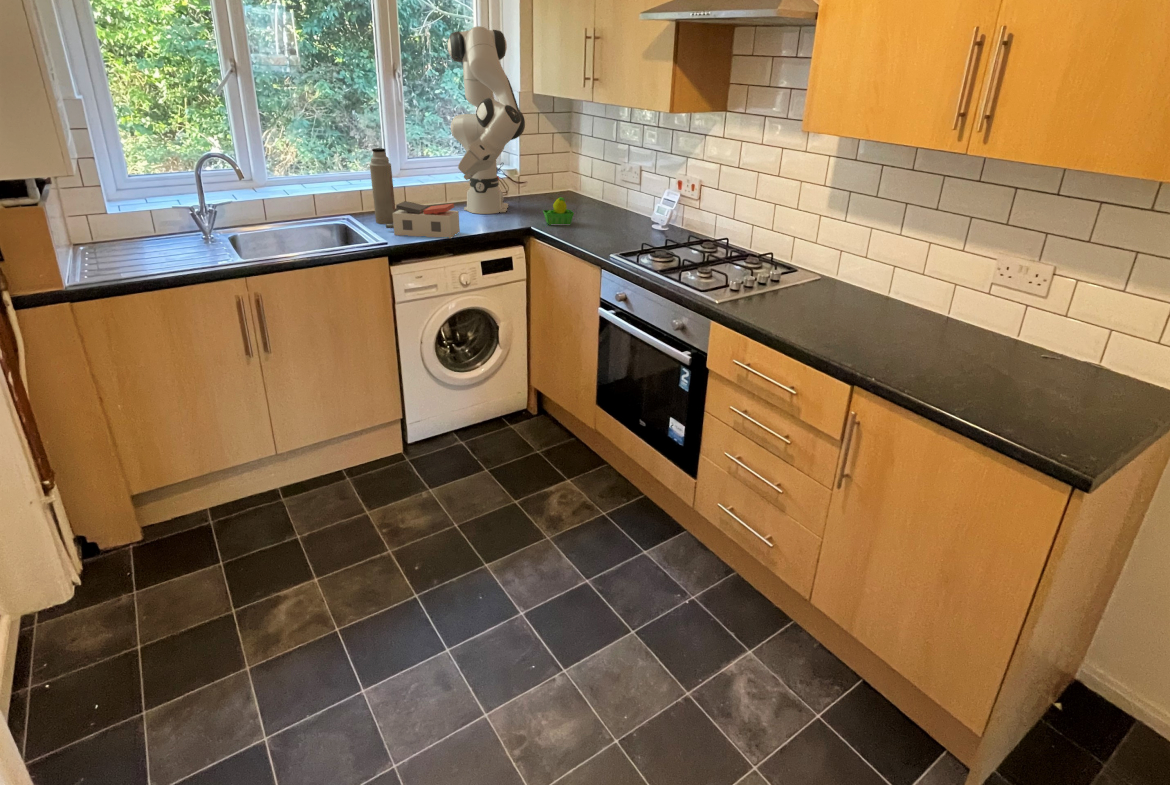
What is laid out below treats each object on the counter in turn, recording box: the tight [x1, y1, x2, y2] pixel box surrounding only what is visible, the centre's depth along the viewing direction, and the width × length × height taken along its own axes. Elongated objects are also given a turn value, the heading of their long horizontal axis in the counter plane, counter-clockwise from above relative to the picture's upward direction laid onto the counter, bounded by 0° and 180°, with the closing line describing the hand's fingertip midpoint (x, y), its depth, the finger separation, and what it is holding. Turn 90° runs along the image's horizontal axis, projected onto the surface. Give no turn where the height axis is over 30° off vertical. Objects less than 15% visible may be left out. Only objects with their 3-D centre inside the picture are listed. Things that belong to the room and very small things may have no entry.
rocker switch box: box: [385, 209, 461, 239], centre depth 267 cm, size 10×27×8 cm, turn 81°
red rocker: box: [423, 203, 455, 214], centre depth 263 cm, size 8×9×2 cm
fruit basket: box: [542, 196, 574, 225], centre depth 283 cm, size 11×9×11 cm
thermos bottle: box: [369, 147, 397, 225], centre depth 279 cm, size 8×8×28 cm
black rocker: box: [395, 200, 429, 214], centre depth 265 cm, size 8×9×2 cm
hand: (466, 178), depth 257 cm, fingers closed
